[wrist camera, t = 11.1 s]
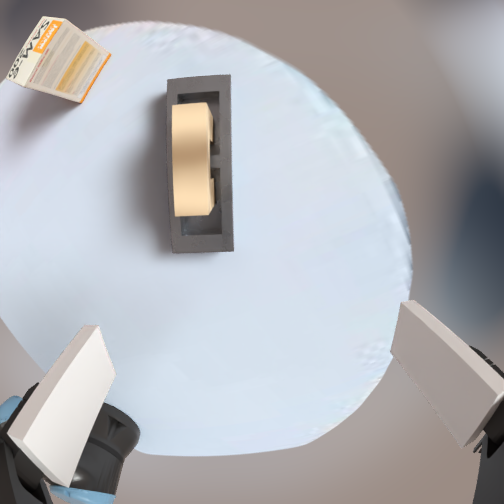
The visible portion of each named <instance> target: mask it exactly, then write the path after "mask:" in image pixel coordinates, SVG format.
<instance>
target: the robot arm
mask: <svg viewBox="0 0 504 504" xmlns="http://www.w3.org/2000/svg"><path fill="white" fill-rule="evenodd" d="M390 352H391V354H392V355H393V356H394V358H395V359H396V360H397V361H398V363H399V364H400V365H401V366H402V368H403V369H404V370H405V372H406V373H407V374H408V376H409V377H410V378H411V380H412V381H413V382H414V383H415V385H416V386H417V387H418V389H419V390H420V391H421V392H422V394H423V395H424V397H425V398H426V399H427V401H428V402H429V403H430V405H431V406H432V408H433V409H434V410H435V412H436V413H437V414H438V416H439V417H440V418H441V420H442V421H443V423H444V424H445V426H446V427H447V429H448V430H449V431H450V433H451V434H452V436H453V437H454V438H455V440H456V441H457V443H458V444H459V446H460V447H461V448H463V447H465V446H467V445H468V444H470V443H471V442H473V441H474V440H475V439H476V438H477V437H478V436H479V434H480V433H481V431H482V430H484V431H485V432H486V434H485V435H484V437H483V438H482V439H481V440H480V442H479V443H478V444H477V445H476V447H475V448H474V451H473V452H474V453H475V452H476V451H477V450H478V449H479V447H480V446H481V445H482V448H481V449H480V451H479V453H481V459H480V467H479V474H478V480H477V485H476V490H475V495H474V499H473V504H504V373H503V372H502V371H501V370H500V369H499V368H498V367H497V366H496V365H493V362H492V361H490V360H489V359H487V357H486V356H485V355H484V354H483V353H482V352H481V351H479V350H478V349H476V348H474V347H472V346H468V345H467V344H465V343H464V342H463V341H462V340H461V339H460V338H459V337H458V336H456V335H455V334H454V333H453V332H452V331H451V330H450V329H448V328H447V327H446V326H445V325H444V324H443V323H441V322H440V321H439V320H438V319H437V318H435V317H434V316H433V315H432V314H431V313H429V312H428V311H427V310H426V309H425V308H423V307H422V306H421V305H420V304H418V303H417V302H416V301H415V300H410V301H405V302H401V305H400V310H399V315H398V320H397V325H396V329H395V334H394V338H393V342H392V346H391V350H390ZM115 376H116V372H115V369H114V367H113V364H112V362H111V359H110V357H109V354H108V351H107V348H106V346H105V343H104V340H103V337H102V334H101V331H100V328H99V325H84V326H83V327H82V329H81V330H80V331H79V332H78V333H77V335H76V336H75V337H74V338H73V340H72V341H71V342H70V343H69V345H68V346H67V347H66V349H65V350H64V351H63V352H62V354H61V355H60V356H59V358H58V359H57V360H56V362H55V363H54V364H53V366H52V367H51V368H50V370H49V371H48V372H47V374H46V375H45V376H44V378H43V380H42V381H41V382H40V383H36V384H35V385H34V386H33V387H31V388H30V389H29V390H28V391H27V392H26V394H25V396H24V397H23V398H21V397H19V396H12V397H10V398H9V399H7V400H6V401H5V402H4V403H3V404H2V405H1V406H0V504H53V502H52V500H51V497H50V495H49V492H48V489H47V487H46V484H45V482H44V480H45V481H46V482H48V483H49V484H51V485H50V491H51V493H52V494H54V495H56V496H57V497H58V498H60V499H62V500H64V501H66V502H69V503H71V504H113V501H114V498H116V496H115V494H116V490H117V486H118V482H119V478H120V474H121V471H122V467H123V463H124V460H125V458H126V457H127V456H128V455H129V454H130V452H131V451H132V450H133V449H134V447H135V446H136V445H137V443H138V441H139V437H140V430H139V428H138V426H137V425H136V423H135V422H134V421H133V420H132V419H131V418H130V417H129V416H127V415H126V414H125V413H123V412H122V411H120V410H118V409H117V408H115V407H113V406H111V405H108V404H106V403H103V402H104V400H105V398H106V396H107V393H108V391H109V389H110V387H111V385H112V383H113V381H114V378H115Z"/></svg>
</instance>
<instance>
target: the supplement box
mask: <svg viewBox="0 0 504 504" xmlns="http://www.w3.org/2000/svg"><path fill="white" fill-rule="evenodd" d="M110 56H111V54H110V53H109V52H108V51H107V50H106V49H104V48H103V47H102V46H101V45H99V44H98V43H97V42H95V41H94V40H93V39H92V38H90V37H89V36H88V35H86V34H85V33H84V32H82V31H81V30H80V29H78V28H77V27H76V26H74V25H73V24H72V23H70V22H69V21H67V20H66V19H62V18H52V17H45V16H44V17H42V19H41V20H40V22H39V23H38V25H37V26H36V28H35V29H34V30H33V32H32V33H31V35H30V36H29V38H28V40H27V41H26V43H25V45H24V46H23V48H22V50H21V51H20V53H19V55H18V57H17V58H16V60H15V62H14V64H13V66H12V68H11V70H10V72H9V74H8V75H7V77H6V79H8V80H10V81H12V82H14V83H16V84H18V85H20V86H22V87H25V88H30V89H34V90H37V91H41V92H44V93H48V94H51V95H55V96H58V97H62V98H65V99H68V100H71V101H75V102H78V103H82V102H83V101H84V99H85V97H86V95H87V93H88V91H89V90H90V88H91V86H92V85H93V83H94V81H95V79H96V78H97V76H98V74H99V73H100V71H101V70H102V68H103V66H104V65H105V63H106V62H107V60H108V59H109V57H110Z"/></svg>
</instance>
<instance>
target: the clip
mask: <svg viewBox="0 0 504 504" xmlns="http://www.w3.org/2000/svg"><path fill="white" fill-rule="evenodd" d="M211 144H214V119H213V116H212V114H211V112H210V110H209V107H208V105H207V103H206V102H204V103H191V104H180V105H172V163H173V190H174V208H175V217H176V216H198V215H209V213H210V212H211V210H212V208H213V207H214V205H215V203H216V194H215V178H210V145H211Z"/></svg>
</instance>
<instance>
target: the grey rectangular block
mask: <svg viewBox="0 0 504 504" xmlns="http://www.w3.org/2000/svg"><path fill="white" fill-rule="evenodd" d="M204 102H206V103H207V105H208V107H209V110H210V112H211V114H212V116H213V119H214V144H211V145H210V178H215V194H216V203H215V205H214V207H213V208H212V210H211V212H210V213H209V215H198V216H176V217H175V208H174V190H173V163H172V105H180V104H191V103H204ZM166 139H167V179H168V199H169V215H170V228H171V240H172V251H173V253H198V252H231V251H234V228H233V190H232V134H231V75H210V76H196V77H185V78H176V79H168V80H167V118H166Z"/></svg>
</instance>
